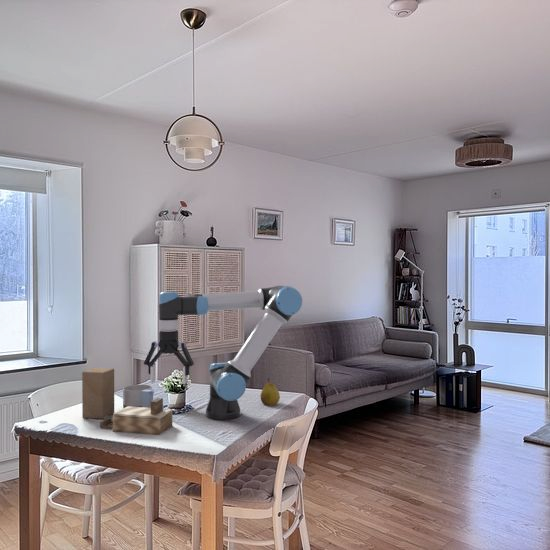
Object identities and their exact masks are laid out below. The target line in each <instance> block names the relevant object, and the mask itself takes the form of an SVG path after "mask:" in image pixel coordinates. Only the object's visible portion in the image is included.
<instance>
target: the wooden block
mask: <svg viewBox="0 0 550 550" xmlns="http://www.w3.org/2000/svg"><path fill="white" fill-rule="evenodd" d="M81 374H82V375H81V376H82V381H81V384H82V389H81V390H82V391H81V392H82V393H81V394H82V402H81V403H82V412H81V413H82V416H81V417H82V418H84V419H97V420H98V419H99V420H105V419H107V418H108V417H110V416H111V415H113V414H114V413H115V369H114V368H111V367H93V368H89V369H87V370H85V371H82V373H81Z"/></svg>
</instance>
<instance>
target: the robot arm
mask: <svg viewBox="0 0 550 550" xmlns="http://www.w3.org/2000/svg"><path fill="white" fill-rule="evenodd" d="M302 305H303V298H302V294H301V292H300V291H298V290H297V289H296V288H295V287H293V286H289V285H286V286H285V285H277V286H275V285H274V286H271V287H264V288H258V289H257V290H251V291H237V292H236V291H233V292H219V293H218V292H217V293H202V294H199V293H198V294H190V293H188V294H185V295H183V296H179V292H177V291H161V292H160V293H159V301H158V316H159V317H158V318H159V319H158V329H159V331H158V340H159V341H158V342H157V341H152V342H151V345H150V349H149V351H148V353H147V355H146V358H145V360H144V361H143V365H145V366H148V370H147V371H148V372H147V373H148V375H150V384H153V383H155V382H156V365H154V364H155V363H156V362H157V361H158V359H159V358H160V357H161V356H162V355H163V354H170V355H171V354H173V355H175V356H176V357H177V359H178V360H179V362H180V363H181V364H182V365H183V366H184V367H183V368H182V385H186V384H187V383H188V376H189V375H190V367H192V366H194V365H195V362H194V360H193V358H192V357H191V354H190V352H189V350H188V348H187V342H185V341H183V342H179V330H178V329H179V316H195V315H196V316H202V315H207V314H208V313H209V312H214V311H215V312H217V311H229V310H231V311H232V310H233V311H234V310H246V309H247V310H248V309H249V310H250V309H259V310H260V311H265V312H264V314H263V316H262V317H261V318H260V320H259V321H258V323H257V324H256V326H255V327H254V328H253V330H252V332H251V333H250V335H249V336H248V337H247V339H246V340H245V342H244V344H243V345H242V346H241V348H240V349H239V351H238V352H237V354H236V355H235V356H234V358H233V359H231V360H228V361H227V362H214V363H211V364H210V365H209V371H208V372H209V399H208V403H207V406H206V409H205V417H206V418H208V419H211V420H233V419H235V418H238V417H240V416H241V407H240V405H239V401H238V400H239V399H240V398H242V397H243V396H244V394H245V392H246V390H247V389H246V388H247V384H248V382H249V381H250V379H251V377H252V375H251V371H252V370H253V368H254V367H255V365H256V364H257V362H259V361H258V360H259V359H260V358H261V356H262V355H263V353H264V352H265V350H266V349H267V347H268V346H269V344H270V343H271V341H272V340H273V338H274V337H275V335H276V334H277V332H278V331H279V329H280V327H281V326H282V325H283V324H287V323H288V322H289V321H290V319H291V318H292V316H293V315H296V314H297V313H299V311H300V310H301V308H302ZM179 347H180V349H181V351H182V353H183V355H182V353H181V351H180V349H178V348H179ZM157 348H159V350H158V351H157V353H156V354H155V355H154V352H155V351H156V349H157ZM153 355H154V357H153Z"/></svg>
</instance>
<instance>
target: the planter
mask: <svg viewBox="0 0 550 550" xmlns="http://www.w3.org/2000/svg"><path fill="white" fill-rule="evenodd" d="M146 389H149V390H153V386H152V385H150V384H132V385H127V386H124V387H123V388H122V404H123V405H122V409H123V408H125V407H127V406H131V407H142V394H141V391H142V390H146Z"/></svg>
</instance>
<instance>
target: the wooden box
mask: <svg viewBox="0 0 550 550" xmlns="http://www.w3.org/2000/svg"><path fill="white" fill-rule="evenodd" d="M112 421H113V424H112V426H113V429H112V432H115V433H127V434H139V435H140V434H141V435H154V436H155V435H156V436H161V435H162V434H163V433H165V432H166V431H167V430H169V429H170V428H172V427H173V411H172V412H170V413H168V414H167V415H165V416H164V417H162V418H161V419H154V418H140V417H126V416H113V415H112Z"/></svg>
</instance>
